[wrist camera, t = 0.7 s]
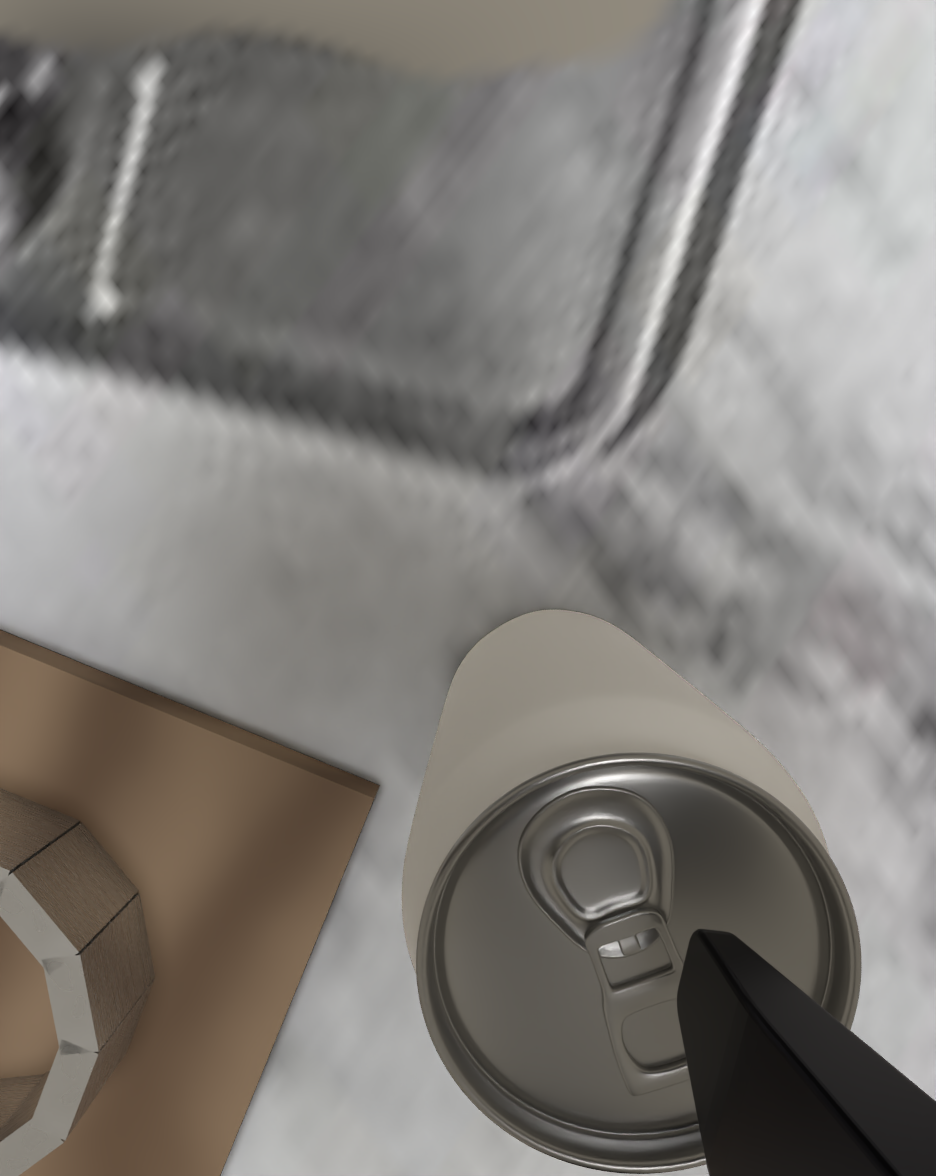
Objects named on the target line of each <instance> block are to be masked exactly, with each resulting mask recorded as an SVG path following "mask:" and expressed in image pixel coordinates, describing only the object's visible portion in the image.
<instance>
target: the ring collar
mask: <svg viewBox="0 0 936 1176" xmlns="http://www.w3.org/2000/svg"><path fill="white" fill-rule="evenodd" d="M79 822H80V820H77V819H75V818H72V817H70V816H68V815H65V814H63V813H60V812H58V811H55V810H53V809H50V808H48V807H46V806H43V805H41V804H38V803H36V802H33V801H31V800H29V799H26V798H24V797H21V796H19V795H16V794H14V793H11V792H9V791H7V790H4V789H2V788H0V916H1V918H2V919H3V920H4V921H5V922H6V924H7V925H8V926H9V927H10V928H11V930H12V931H13V932H14V933H15V934H16V935H17V937H18V938H19V939H20V940H21V941H22V943H23V944H24V945H25V946H26V947H27V949H28V950H29V951H30V952H31V953H32V955H33V956H34V957H35V958H36V959H37V960H38V962H39V963H40V964H41V965H42V966H43V968H44V972H45V977H46V983H47V988H48V993H49V998H50V1003H51V1008H52V1013H53V1018H54V1023H55V1028H56V1033H57V1038H58V1044H59V1049H58V1051H57V1054H56V1057H55V1059H54V1062H53V1065H52V1067H51V1070H49V1071H48V1072H47V1073H45V1074H40V1075H30V1076H20V1077H10V1078H1V1079H0V1176H19V1175H20V1174H22V1173H23V1172H24V1171H26V1170H27V1169H28V1168H30V1167H31V1166H33V1165H34V1164H35V1163H37V1162H38V1161H39V1160H41V1159H42V1158H44V1157H45V1156H46V1155H48V1154H49V1153H50V1152H52V1151H53V1150H54V1149H56V1148H57V1147H59V1146H60V1145H61V1144H63V1143H64V1142H65V1140H66V1139H67V1138H68V1136H69V1135H70V1133H71V1132H72V1130H73V1129H74V1128H75V1126H76V1125H77V1123H78V1122H79V1120H80V1119H81V1117H82V1116H83V1115H84V1113H85V1112H86V1110H87V1109H88V1107H89V1106H90V1105H91V1103H92V1102H93V1100H94V1099H95V1097H96V1096H97V1094H98V1093H99V1092H100V1090H101V1089H102V1087H103V1086H104V1084H105V1083H106V1082H107V1080H108V1079H109V1077H110V1076H111V1074H112V1073H113V1071H114V1070H115V1069H116V1067H117V1066H118V1064H119V1063H120V1061H121V1060H122V1059H123V1057H124V1056H125V1054H126V1052H127V1049H128V1047H129V1044H130V1042H131V1039H132V1036H133V1034H134V1031H135V1029H136V1026H137V1023H138V1021H139V1018H140V1016H141V1013H142V1011H143V1008H144V1005H145V1003H146V1000H147V998H148V995H149V992H150V990H151V987H152V985H153V982H154V977H155V974H154V968H153V963H152V957H151V952H150V946H149V941H148V935H147V930H146V924H145V919H144V913H143V908H142V902H141V897H140V893H137V892H138V891H139V890H138V889H137V888H136V887H135V886H134V884H133V883H132V882H131V881H130V880H129V878H128V877H127V876H126V875H125V873H124V872H123V871H122V870H121V869H120V867H119V866H118V865H117V864H116V863H115V861H114V860H113V859H112V858H111V857H110V855H109V854H108V853H107V852H106V850H105V849H104V848H103V847H102V846H101V844H100V843H99V842H98V841H97V840H96V838H95V837H94V836H93V835H92V834H91V832H90V831H89V830H88V829H87V827H86V826H85V825H84V824H83V823H80V824H79Z"/></svg>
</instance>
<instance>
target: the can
mask: <svg viewBox="0 0 936 1176" xmlns="http://www.w3.org/2000/svg"><path fill="white" fill-rule="evenodd" d="M402 916H403V926H404V932H405V938H406V943H407V947H408V951H409V954H410V958H411V961H412V964H413V967H414V970H415V972H416V975H417V986H418V993H419V999H420V1004H421V1008H422V1013H423V1016H424V1020H425V1023H426V1026H427V1029H428V1032H429V1034H430V1037H431V1039H432V1042H433V1044H434V1046H435V1048H436V1051H437V1053H438V1054H439V1056H440V1058H441V1060H442V1062H443V1064H444V1065H445V1067H446V1069H447V1070H448V1072H449V1073H450V1075H451V1076H452V1078H453V1079H454V1081H455V1082H456V1083H457V1085H458V1086H459V1087H460V1089H461V1090H462V1091H463V1092H464V1094H465V1095H466V1096H467V1097H468V1098H469V1099H470V1101H471V1102H472V1103H473V1104H474V1105H475V1106H476V1107H477V1108H478V1109H479V1110H480V1111H481V1112H482V1113H483V1114H485V1115H486V1116H487V1117H488V1118H489V1119H490V1120H491V1121H493V1122H494V1123H495V1124H496V1125H498V1126H499V1127H500V1128H501V1129H503V1130H504V1131H506V1132H507V1133H509V1134H510V1135H511V1136H513V1137H515V1138H516V1139H518V1140H519V1141H521V1142H523V1143H525V1144H526V1145H528V1146H530V1147H532V1148H534V1149H536V1150H538V1151H540V1152H542V1153H544V1154H547V1155H549V1156H552V1157H554V1158H556V1159H559V1160H562V1161H565V1162H568V1163H571V1164H575V1165H578V1166H582V1167H586V1168H591V1169H595V1170H601V1171H607V1172H616V1173H629V1174H650V1173H663V1172H672V1171H678V1170H684V1169H689V1168H693V1167H697V1166H701V1165H705V1164H706V1159H705V1154H704V1150H703V1145H702V1140H701V1135H700V1130H699V1124H698V1119H697V1114H696V1109H695V1103H694V1098H693V1093H692V1087H691V1082H690V1077H689V1072H688V1066H687V1061H686V1056H685V1051H684V1045H683V1040H682V1035H681V1029H680V1024H679V1019H678V1013H677V991H678V986H679V982H680V978H681V973H682V969H683V965H684V961H685V957H686V952H687V948H688V944H689V940H690V937H691V935H692V934H693V932H694V931H696V930H697V929H709V930H717V931H725V932H730V933H732V934H734V935H735V936H737V937H738V938H739V939H740V940H742V941H743V942H744V943H745V944H746V945H748V946H749V947H750V948H751V949H752V950H754V951H755V952H756V953H757V954H758V955H760V956H761V957H762V958H763V959H765V960H766V961H767V962H768V963H769V964H771V965H772V966H773V967H774V968H775V969H777V970H778V971H779V972H780V973H781V974H783V975H784V976H785V977H786V978H787V979H789V980H790V981H791V982H792V983H793V984H795V985H796V986H797V987H798V988H800V989H801V990H802V991H803V992H804V993H806V994H807V995H808V996H809V997H810V998H812V999H813V1000H814V1001H815V1002H816V1003H818V1004H819V1005H820V1006H821V1007H822V1008H824V1009H825V1010H826V1011H827V1012H828V1013H830V1014H831V1015H832V1016H833V1017H834V1018H836V1019H837V1020H838V1021H839V1022H841V1023H842V1024H843V1025H844V1026H845V1027H847V1028H848V1029H849V1030H850V1029H851V1026H852V1023H853V1020H854V1016H855V1012H856V1008H857V1003H858V998H859V992H860V983H861V946H860V938H859V931H858V925H857V921H856V917H855V913H854V909H853V906H852V903H851V900H850V897H849V894H848V892H847V889H846V887H845V884H844V882H843V880H842V878H841V876H840V874H839V872H838V870H837V868H836V866H835V864H834V863H833V861H832V859H831V858H830V856H829V852H828V849H827V845H826V842H825V839H824V836H823V833H822V830H821V828H820V825H819V823H818V821H817V818H816V816H815V814H814V812H813V810H812V808H811V806H810V805H809V803H808V801H807V799H806V798H805V796H804V794H803V793H802V791H801V790H800V788H799V787H798V786H797V784H796V783H795V781H794V780H793V779H792V777H791V776H790V775H789V774H788V772H787V771H786V770H785V769H784V767H783V766H782V765H781V764H780V763H779V761H778V760H777V759H776V758H775V757H774V756H773V755H772V754H771V753H770V752H769V751H768V750H767V749H766V748H765V747H764V746H763V745H762V744H761V743H760V742H759V741H757V740H756V739H755V738H754V737H753V736H752V735H751V734H750V733H749V732H748V731H746V730H745V729H744V728H743V727H742V726H741V725H739V724H738V723H737V722H736V721H735V720H734V719H732V718H731V717H730V716H729V715H728V714H726V713H725V712H724V711H723V710H722V709H720V708H719V707H718V706H717V705H716V704H714V703H713V702H712V701H711V700H709V699H708V698H707V697H706V696H705V695H703V694H702V693H701V692H700V691H698V690H697V689H696V688H695V687H694V686H692V685H691V684H690V683H689V682H687V681H686V680H685V679H684V678H682V677H681V676H680V675H679V674H677V673H676V672H675V671H674V670H673V669H671V668H670V667H669V666H668V665H666V664H665V663H664V662H663V661H661V660H660V659H659V658H658V657H656V656H655V655H654V654H653V653H651V652H650V651H649V650H647V649H646V648H645V647H644V646H642V645H641V644H640V643H639V642H637V641H636V640H635V639H633V638H632V637H631V636H629V635H628V634H627V633H625V632H624V631H622V630H621V629H619V628H618V627H616V626H614V625H612V624H611V623H609V622H607V621H604V620H602V619H600V618H597V617H594V616H591V615H588V614H584V613H580V612H575V611H568V610H540V611H535V612H531V613H527V614H524V615H521V616H519V617H516V618H514V619H512V620H510V621H508V622H506V623H504V624H502V625H501V626H499V627H498V628H496V629H494V630H493V631H491V632H490V633H489V634H487V635H486V636H485V637H483V638H482V639H481V640H480V641H479V642H478V643H477V644H476V645H475V646H474V647H473V648H472V649H471V650H470V651H469V653H468V654H467V655H466V657H465V658H464V659H463V661H462V662H461V664H460V666H459V667H458V669H457V671H456V673H455V675H454V678H453V680H452V683H451V685H450V688H449V691H448V694H447V697H446V701H445V704H444V708H443V711H442V714H441V718H440V721H439V725H438V729H437V732H436V736H435V739H434V743H433V747H432V750H431V754H430V758H429V761H428V765H427V769H426V772H425V776H424V780H423V784H422V788H421V791H420V795H419V799H418V803H417V807H416V811H415V815H414V819H413V823H412V827H411V831H410V835H409V840H408V845H407V850H406V855H405V861H404V868H403V879H402Z"/></svg>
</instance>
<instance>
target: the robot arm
mask: <svg viewBox="0 0 936 1176" xmlns="http://www.w3.org/2000/svg"><path fill="white" fill-rule="evenodd" d="M677 1013H678V1019H679V1024H680V1029H681V1035H682V1040H683V1045H684V1051H685V1056H686V1061H687V1066H688V1072H689V1077H690V1082H691V1087H692V1093H693V1098H694V1103H695V1109H696V1114H697V1119H698V1124H699V1130H700V1135H701V1140H702V1145H703V1150H704V1154H705V1159H706V1164H707V1168H708V1172H709V1176H936V1101H935V1100H933V1099H932V1098H931V1097H930V1096H929V1095H927V1094H926V1093H925V1092H924V1091H923V1090H921V1089H920V1088H919V1087H918V1086H917V1085H915V1084H914V1083H913V1082H912V1081H910V1080H909V1079H908V1078H907V1077H906V1076H904V1075H903V1074H902V1073H901V1072H900V1071H898V1070H897V1069H896V1068H895V1067H894V1066H892V1065H891V1064H890V1063H889V1062H888V1061H886V1060H885V1059H884V1058H883V1057H882V1056H880V1055H879V1054H878V1053H877V1052H876V1051H874V1050H873V1049H872V1048H871V1047H869V1046H868V1045H867V1044H866V1043H865V1042H863V1041H862V1040H861V1039H860V1038H859V1037H857V1036H856V1035H855V1034H854V1033H853V1032H851V1031H850V1030H849V1029H848V1028H847V1027H845V1026H844V1025H843V1024H842V1023H841V1022H839V1021H838V1020H837V1019H836V1018H834V1017H833V1016H832V1015H831V1014H830V1013H828V1012H827V1011H826V1010H825V1009H824V1008H822V1007H821V1006H820V1005H819V1004H818V1003H816V1002H815V1001H814V1000H813V999H812V998H810V997H809V996H808V995H807V994H806V993H804V992H803V991H802V990H801V989H800V988H798V987H797V986H796V985H795V984H793V983H792V982H791V981H790V980H789V979H787V978H786V977H785V976H784V975H783V974H781V973H780V972H779V971H778V970H777V969H775V968H774V967H773V966H772V965H771V964H769V963H768V962H767V961H766V960H765V959H763V958H762V957H761V956H760V955H758V954H757V953H756V952H755V951H754V950H752V949H751V948H750V947H749V946H748V945H746V944H745V943H744V942H743V941H742V940H740V939H739V938H738V937H737V936H735V935H734V934H732V933H730V932H725V931H717V930H709V929H697V930H696V931H694V932H693V934H692V935H691V937H690V940H689V944H688V948H687V952H686V957H685V961H684V965H683V969H682V973H681V978H680V982H679V986H678V991H677Z"/></svg>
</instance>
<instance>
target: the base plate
mask: <svg viewBox="0 0 936 1176" xmlns="http://www.w3.org/2000/svg"><path fill="white" fill-rule="evenodd" d="M0 788H2V789H4V790H7V791H9V792H11V793H14V794H16V795H19V796H21V797H24V798H26V799H29V800H31V801H33V802H36V803H38V804H41V805H43V806H46V807H48V808H50V809H53V810H55V811H58V812H60V813H63V814H65V815H68V816H70V817H72V818H75V819H77V820H80V822H79V824H80V823H83V824H84V825H85V826H86V827H87V829H88V830H89V831H90V832H91V834H92V835H93V836H94V837H95V838H96V840H97V841H98V842H99V843H100V844H101V846H102V847H103V848H104V849H105V850H106V852H107V853H108V854H109V855H110V857H111V858H112V859H113V860H114V861H115V863H116V864H117V865H118V866H119V867H120V869H121V870H122V871H123V872H124V873H125V875H126V876H127V877H128V878H129V880H130V881H131V882H132V883H133V884H134V886H135V887H136V888H137V889H138V890H139V891H138V892H137V893H140V897H141V902H142V908H143V913H144V919H145V924H146V930H147V935H148V941H149V946H150V952H151V957H152V963H153V968H154V974H155V977H154V982H153V985H152V987H151V990H150V992H149V995H148V998H147V1000H146V1003H145V1005H144V1008H143V1011H142V1013H141V1016H140V1018H139V1021H138V1023H137V1026H136V1029H135V1031H134V1034H133V1036H132V1039H131V1042H130V1044H129V1047H128V1049H127V1052H126V1054H125V1056H124V1057H123V1059H122V1060H121V1061H120V1063H119V1064H118V1066H117V1067H116V1069H115V1070H114V1071H113V1073H112V1074H111V1076H110V1077H109V1079H108V1080H107V1082H106V1083H105V1084H104V1086H103V1087H102V1089H101V1090H100V1092H99V1093H98V1094H97V1096H96V1097H95V1099H94V1100H93V1102H92V1103H91V1105H90V1106H89V1107H88V1109H87V1110H86V1112H85V1113H84V1115H83V1116H82V1117H81V1119H80V1120H79V1122H78V1123H77V1125H76V1126H75V1128H74V1129H73V1130H72V1132H71V1133H70V1135H69V1136H68V1138H67V1139H66V1140H65V1142H64V1143H63V1144H61V1145H60V1146H59V1147H57V1148H56V1149H54V1150H53V1151H52V1152H50V1153H49V1154H48V1155H46V1156H45V1157H44V1158H42V1159H41V1160H39V1161H38V1162H37V1163H35V1164H34V1165H33V1166H31V1167H30V1168H28V1169H27V1170H26V1171H24V1172H23V1173H22V1174H20V1175H19V1176H220V1175H221V1172H222V1170H223V1167H224V1165H225V1162H226V1160H227V1158H228V1155H229V1153H230V1150H231V1148H232V1145H233V1143H234V1140H235V1138H236V1136H237V1133H238V1131H239V1128H240V1126H241V1123H242V1121H243V1118H244V1116H245V1114H246V1111H247V1109H248V1106H249V1104H250V1101H251V1099H252V1096H253V1094H254V1092H255V1089H256V1087H257V1084H258V1082H259V1079H260V1077H261V1074H262V1072H263V1070H264V1067H265V1065H266V1062H267V1060H268V1057H269V1055H270V1053H271V1050H272V1048H273V1045H274V1043H275V1040H276V1038H277V1035H278V1033H279V1031H280V1028H281V1026H282V1023H283V1021H284V1018H285V1016H286V1013H287V1011H288V1009H289V1006H290V1004H291V1001H292V999H293V996H294V994H295V991H296V989H297V987H298V984H299V982H300V979H301V977H302V974H303V972H304V969H305V967H306V965H307V962H308V960H309V957H310V955H311V952H312V950H313V947H314V945H315V943H316V940H317V938H318V935H319V933H320V930H321V928H322V925H323V923H324V921H325V918H326V916H327V913H328V911H329V908H330V906H331V903H332V901H333V899H334V896H335V894H336V891H337V889H338V886H339V884H340V881H341V879H342V877H343V874H344V872H345V869H346V867H347V864H348V862H349V859H350V857H351V855H352V852H353V850H354V847H355V845H356V842H357V840H358V837H359V835H360V833H361V830H362V828H363V825H364V823H365V820H366V818H367V815H368V813H369V811H370V808H371V806H372V803H373V801H374V798H375V796H376V793H377V791H378V789H379V785H377V784H375V783H372V782H370V781H367V780H365V779H362V778H360V777H357V776H355V775H353V774H350V773H348V772H345V771H343V770H340V769H338V768H336V767H333V766H331V765H328V764H326V763H323V762H321V761H318V760H316V759H314V758H311V757H309V756H306V755H304V754H301V753H299V752H297V751H294V750H292V749H289V748H287V747H284V746H282V745H279V744H277V743H275V742H272V741H270V740H267V739H265V738H262V737H260V736H258V735H255V734H253V733H250V732H248V731H245V730H243V729H240V728H238V727H236V726H233V725H231V724H228V723H226V722H223V721H221V720H219V719H216V718H214V717H211V716H209V715H206V714H204V713H201V712H199V711H197V710H194V709H192V708H189V707H187V706H184V705H182V704H180V703H177V702H175V701H172V700H170V699H167V698H165V697H162V696H160V695H158V694H155V693H153V692H150V691H148V690H145V689H143V688H141V687H138V686H136V685H133V684H131V683H128V682H126V681H123V680H121V679H119V678H116V677H114V676H111V675H109V674H106V673H104V672H102V671H99V670H97V669H94V668H92V667H89V666H87V665H84V664H82V663H80V662H77V661H75V660H72V659H70V658H67V657H65V656H63V655H60V654H58V653H55V652H53V651H50V650H48V649H45V648H43V647H41V646H38V645H36V644H33V643H31V642H28V641H26V640H24V639H21V638H19V637H16V636H14V635H11V634H9V633H6V632H4V631H2V630H0ZM58 1049H59V1044H58V1038H57V1033H56V1028H55V1023H54V1018H53V1013H52V1008H51V1003H50V998H49V993H48V988H47V983H46V977H45V972H44V968H43V966H42V965H41V964H40V963H39V962H38V960H37V959H36V958H35V957H34V956H33V955H32V953H31V952H30V951H29V950H28V949H27V947H26V946H25V945H24V944H23V943H22V941H21V940H20V939H19V938H18V937H17V935H16V934H15V933H14V932H13V931H12V930H11V928H10V927H9V926H8V925H7V924H6V922H5V921H4V920H3V919H2V918H1V916H0V1079H1V1078H10V1077H20V1076H30V1075H40V1074H45V1073H47V1072H48V1071H49V1070H51V1067H52V1065H53V1062H54V1059H55V1057H56V1054H57V1051H58Z"/></svg>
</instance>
